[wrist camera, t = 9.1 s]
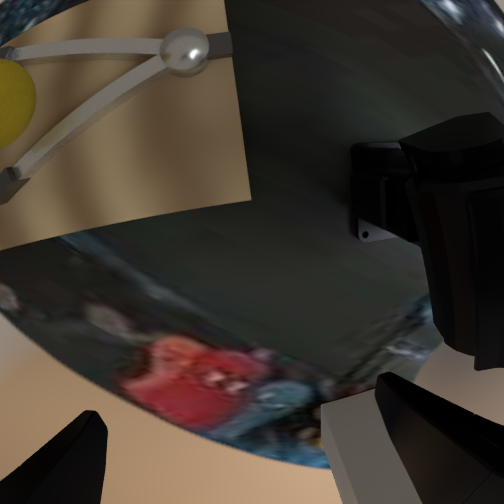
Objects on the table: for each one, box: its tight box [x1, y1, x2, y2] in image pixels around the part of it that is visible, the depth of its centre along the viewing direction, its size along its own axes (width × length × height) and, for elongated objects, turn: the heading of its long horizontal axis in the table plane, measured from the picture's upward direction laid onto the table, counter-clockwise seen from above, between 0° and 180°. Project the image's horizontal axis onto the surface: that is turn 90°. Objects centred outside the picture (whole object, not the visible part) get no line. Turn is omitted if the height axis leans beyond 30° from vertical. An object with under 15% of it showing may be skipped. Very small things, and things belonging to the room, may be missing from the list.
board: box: [0, 0, 251, 250], centre depth 15 cm, size 20×16×1 cm
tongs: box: [0, 27, 233, 205], centre depth 13 cm, size 17×12×2 cm
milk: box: [321, 389, 422, 504], centre depth 14 cm, size 6×6×22 cm
